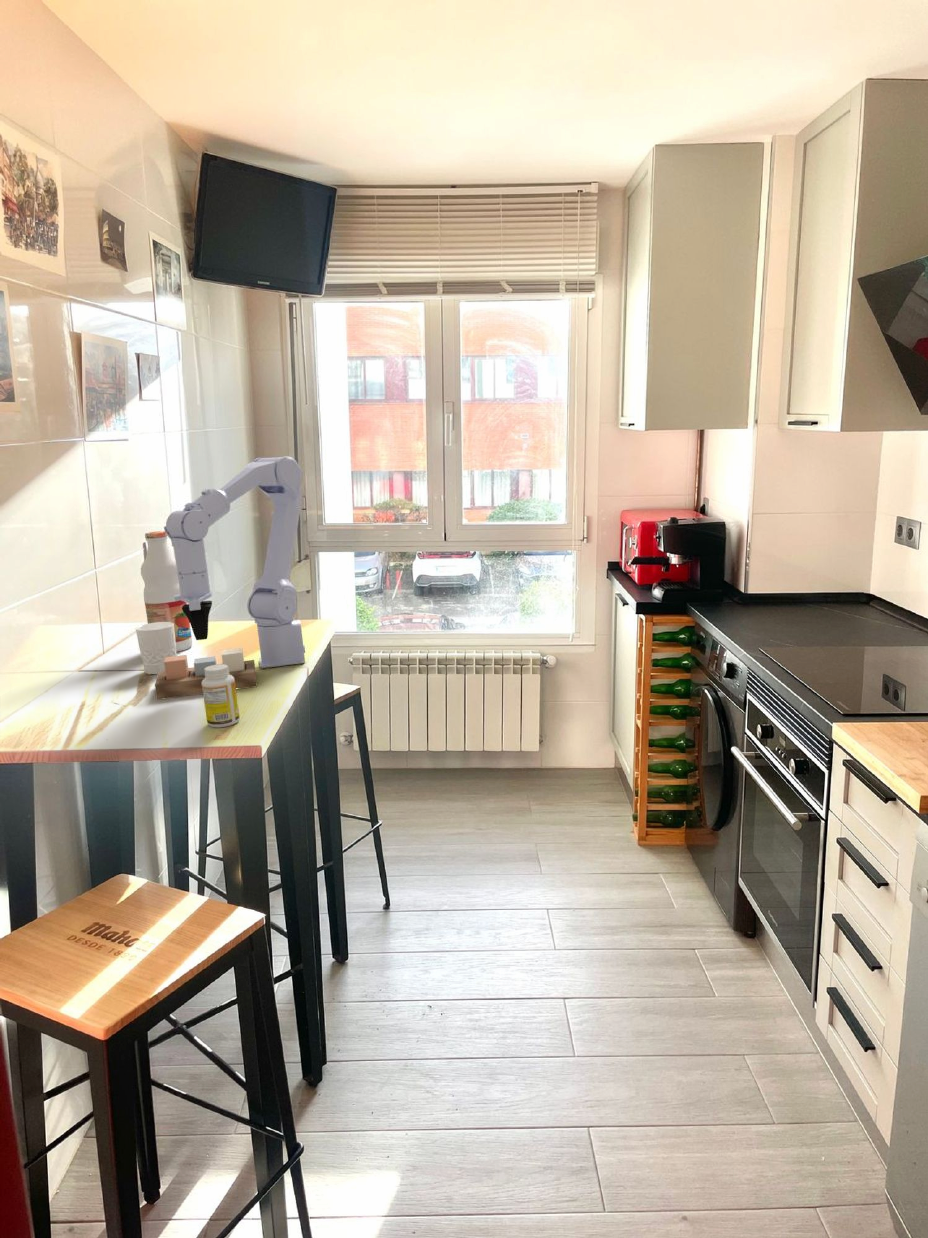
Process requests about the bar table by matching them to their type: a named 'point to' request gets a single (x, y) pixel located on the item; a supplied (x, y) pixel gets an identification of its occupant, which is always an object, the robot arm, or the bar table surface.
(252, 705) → the bar table surface
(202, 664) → the light blue cube
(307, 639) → the bar table surface
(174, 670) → the salmon orange cube
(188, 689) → the wooden tray
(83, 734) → the bar table surface
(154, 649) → the white cup
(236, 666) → the off-white cube
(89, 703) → the bar table surface
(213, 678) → the supplement bottle
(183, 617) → the fruit juice
